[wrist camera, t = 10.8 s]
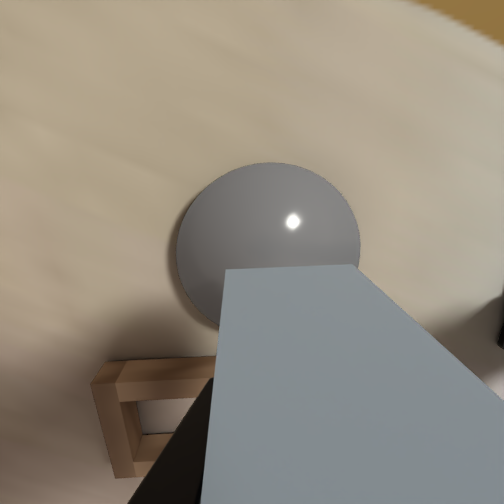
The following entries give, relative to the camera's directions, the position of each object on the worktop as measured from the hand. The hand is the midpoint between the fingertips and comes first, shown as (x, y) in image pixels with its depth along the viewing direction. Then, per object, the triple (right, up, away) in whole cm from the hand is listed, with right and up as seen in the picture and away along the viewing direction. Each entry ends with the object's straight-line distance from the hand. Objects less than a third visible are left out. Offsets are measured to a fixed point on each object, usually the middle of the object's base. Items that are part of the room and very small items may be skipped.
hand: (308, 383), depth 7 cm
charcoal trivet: (0, +3, +9) cm, 10 cm away
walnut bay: (-7, -8, +13) cm, 17 cm away
